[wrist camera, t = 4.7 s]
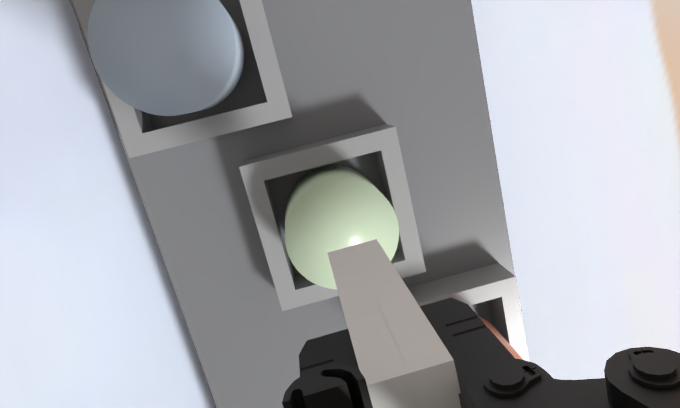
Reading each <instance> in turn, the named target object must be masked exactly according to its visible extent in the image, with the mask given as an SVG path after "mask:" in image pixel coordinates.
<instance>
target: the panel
mask: <svg viewBox="0 0 680 408" xmlns="http://www.w3.org/2000/svg"><path fill="white" fill-rule="evenodd" d="M95 1H96V0H70V2H71V4H72V7H73V10H74V13H75V15H76V18H77V21H78V24H79V27H80V29H81V32H82V35H83V38H84V40H85V43H86V46H87V49H88V52H89V46H88V32H87V31H88V22H89V18H90V14H91V11H92V8H93V6H94V3H95ZM219 1H220V2H221V4H222V5H223V6H224V8H225V9H226V11H227V12H228V13H229V15H230V16H231V18H232V19H233V21H234V22H235V24H236V26H237V28H238V30H239V32H240V35H241V37H242V41H243V46H244V66H243V71H242V74H241V77H240V79H239V81H238V84H237V85H236V87H235V88H234V90H233V91H232V92H231V93H230V95H229V96H228V97H226V98H225V99H224V100H223V101H222V102H220V103H219V104H217V105H215V106H213V107H211V108H208V109H205V110H201V111H196V112H192V113H187V114H182V115H176V116H161V115H154V114H149V113H146V112H143V111H140V110H138V109H136V108H134V107H132V106H130V105H128V104H127V103H125V102H123V101H122V100H121V99H120V98H118V97H117V96H116V95H115V94H114V93H113V92H112V91H111V90H110V89H109V88H108V87H107V86H106V85H105V83H104V82H103V81H102V79H101V78H100V76H99V74H98V72H97V71H96V69H95V71H96V74H97V77H98V79H99V82H100V85H101V88H102V90H103V93H104V96H105V99H106V102H107V104H108V107H109V110H110V113H111V115H112V118H113V121H114V124H115V127H116V129H117V132H118V135H119V138H120V140H121V143H122V146H123V149H124V152H125V154H126V157H127V160H128V163H129V165H130V168H131V171H132V174H133V177H134V179H135V182H136V185H137V188H138V190H139V193H140V196H141V199H142V202H143V204H144V207H145V210H146V213H147V215H148V218H149V221H150V224H151V227H152V229H153V232H154V235H155V238H156V240H157V243H158V246H159V249H160V252H161V254H162V257H163V260H164V263H165V265H166V268H167V271H168V274H169V277H170V279H171V282H172V285H173V288H174V290H175V293H176V296H177V299H178V302H179V304H180V307H181V310H182V313H183V315H184V318H185V321H186V324H187V327H188V329H189V332H190V335H191V338H192V340H193V343H194V346H195V349H196V352H197V354H198V357H199V360H200V363H201V365H202V368H203V371H204V374H205V376H206V379H207V382H208V385H209V388H210V390H211V393H212V396H213V399H214V401H215V404H216V407H217V408H284V407H283V404H282V401H283V397H284V394H285V391H286V390H287V389H288V388H289V386H290V385H291V384H292V383H293V381H295V380H296V379H297V378H299V377H300V368H299V354H300V352H301V350H302V348H303V346H304V345H305V343H306V341H307V340H310V339H314V338H317V337H321V336H324V335H327V334H331V333H334V332H338V331H341V330H345V329H348V327H347V323H346V320H345V316H344V312H343V309H342V305H341V301H340V297H339V294H338V290H337V289H329V288H325V287H321V286H319V285H316V284H314V283H312V282H311V281H309V280H307V279H306V278H305V277H304V276H302V275H301V274H300V273H299V271H298V270H297V269H296V268H295V266H294V265H293V263H292V262H291V260H290V258H289V255H288V252H287V249H286V244H285V207H286V202H287V199H288V196H289V194H290V192H291V190H292V189H293V187H294V186H295V184H296V183H297V182H298V181H299V180H300V179H301V178H302V177H303V176H304V175H306V174H308V173H309V172H311V171H313V170H315V169H318V168H321V167H325V166H334V165H335V166H344V167H348V168H351V169H354V170H356V171H358V172H360V173H361V174H363V175H364V176H365V177H366V178H367V179H368V180H369V181H370V182H371V183H372V184H373V185H374V186H375V187H376V188H377V189H378V190H379V191H380V192H381V193H382V194H383V195H384V196H385V198H386V199H387V200H388V201H389V202H390V204H391V206H392V207H393V209H394V211H395V214H396V217H397V220H398V225H399V240H398V245H397V249H396V252H395V254H394V257H393V258H392V260H391V263H392V264H393V266H394V267H395V269H396V270H397V272H398V274H399V275H400V277H401V278H402V280H403V281H404V283H405V284H406V286H407V288H408V289H409V291H410V292H411V294H412V295H413V297H414V299H415V300H416V302H417V303H418V305H419V306H423V305H426V304H430V303H433V302H437V301H440V300H444V299H447V298H451V297H452V298H454V299H456V300H459V301H461V302H463V303H466V304H468V305H469V306H470V307H471V309H472V310H473V311H474V312H475V313H476V314H477V315H478V317H481V318H483V319H485V320H487V321H488V322H490V323H491V324H492V325H493V326H494V327H495V328H496V329H497V330H498V332H499V333H500V334H501V335H502V336H503V337H504V338H505V339H506V341H507V342H508V343H509V344H510V345H511V346H512V347H513V348H514V350H515V351H516V352H517V353H518V354H519V355H520V356H521V357H522V359H523V360H526V361H529V357H528V350H527V344H526V338H525V331H524V325H523V319H522V313H521V306H520V300H519V294H518V287H517V281H516V276H515V274H514V268H513V262H512V255H511V249H510V243H509V237H508V230H507V224H506V218H505V212H504V205H503V199H502V193H501V186H500V180H499V174H498V168H497V161H496V155H495V149H494V143H493V136H492V130H491V124H490V118H489V111H488V105H487V99H486V92H485V86H484V80H483V74H482V67H481V61H480V55H479V49H478V42H477V36H476V30H475V24H474V17H473V11H472V5H471V0H219ZM89 54H90V52H89ZM90 57H91V55H90ZM91 60H92V59H91ZM92 63H93V62H92ZM93 65H94V64H93ZM94 68H95V66H94Z"/></svg>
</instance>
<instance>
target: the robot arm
mask: <svg viewBox="0 0 680 408" xmlns="http://www.w3.org/2000/svg"><path fill="white" fill-rule="evenodd" d="M328 257H329V261H330V264H331V268H332V272H333V275H334V279H335V283H336V286H337V290H338V294H339V297H340V301H341V305H342V309H343V312H344V316H345V320H346V323H347V327H348V329H345V330H341V331H338V332H334V333H331V334H327V335H324V336H321V337H317V338H314V339H310V340H307V341H306V343H305V345H304V346H303V348H302V350H301V352H300V354H299V368H300V377H299V378H297V379H296V380H295V381H293V383H292V384H291V385H290V386H289V388H288V389H287V390H286V391H285V394H284V397H283V401H282V404H283V407H284V408H680V353H678V352H675V351H671V350H668V349H661V348H653V347H640V348H630V349H627V350H623V351H620V352H617V353H615V354H614V355H613V356H612V357H611V358H609V359H608V360H607V362H606V366H605V370H604V372H605V378H602V379H586V380H558V379H553V378H552V377H551V376H550V375H549V374H548V373H547V372H546V371H545V370H544V369H542V368H541V367H539V366H538V365H537V364H535V363H532V362H529V361H526V360H522V359H515V358H514V357H513V355H512V354H511V353H510V352H509V351H508V350H507V349H506V347H505V346H504V345H503V344H502V343H501V342H500V341H499V339H498V338H497V337H496V336H495V335H494V334H493V333H492V331H491V330H490V329H489V328H488V327H486V325H485V323H484V322H483V321H482V320H481V319H480V318H478V315H477V314H476V313H475V312H474V311H473V310H472V309H471V307H470V306H469V305H468V304H466V303H463V302H461V301H459V300H456V299H454V298H452V297H451V298H447V299H444V300H440V301H437V302H433V303H430V304H426V305H423V306H419V305H418V303H417V302H416V300H415V299H414V297H413V295H412V294H411V292H410V291H409V289H408V288H407V286H406V284H405V283H404V281H403V280H402V278H401V277H400V275H399V274H398V272H397V270H396V269H395V267H394V266H393V264H392V263H391V261H390V259H389V258H388V256H387V255H386V253H385V252H384V250H383V248H382V247H381V245H380V244H379V242H378V241H377V239H375V240H371V241H368V242H364V243H361V244H357V245H353V246H350V247H346V248H342V249H339V250H335V251H332V252H328Z"/></svg>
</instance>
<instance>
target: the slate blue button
mask: <svg viewBox="0 0 680 408" xmlns="http://www.w3.org/2000/svg"><path fill="white" fill-rule="evenodd" d="M87 32H88V46H89V52H90V55H91V59H92V62H93V64H94V66H95V69H96V71H97V72H98V74H99V76H100V78H101V79H102V81H103V82H104V83H105V85H106V86H107V87H108V88H109V89H110V90H111V91H112V92H113V93H114V94H115V95H116V96H117V97H118V98H120V99H121V100H122V101H123V102H125V103H127V104H128V105H130V106H132V107H134V108H136V109H138V110H140V111H143V112H146V113H149V114H154V115H161V116H176V115H182V114H187V113H192V112H196V111H201V110H205V109H208V108H211V107H213V106H215V105H217V104H219V103H220V102H222V101H223V100H224V99H225V98H226V97H228V96H229V95H230V93H231V92H232V91H233V90H234V88H235V87H236V85H237V84H238V81H239V79H240V77H241V74H242V71H243V66H244V46H243V41H242V37H241V35H240V32H239V30H238V28H237V26H236V24H235V22H234V21H233V19H232V18H231V16H230V15H229V13H228V12H227V11H226V9H225V8H224V6H223V5H222V4H221V2H220V1H219V0H96V1H95V3H94V6H93V8H92V11H91V14H90V18H89V22H88V31H87Z"/></svg>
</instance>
